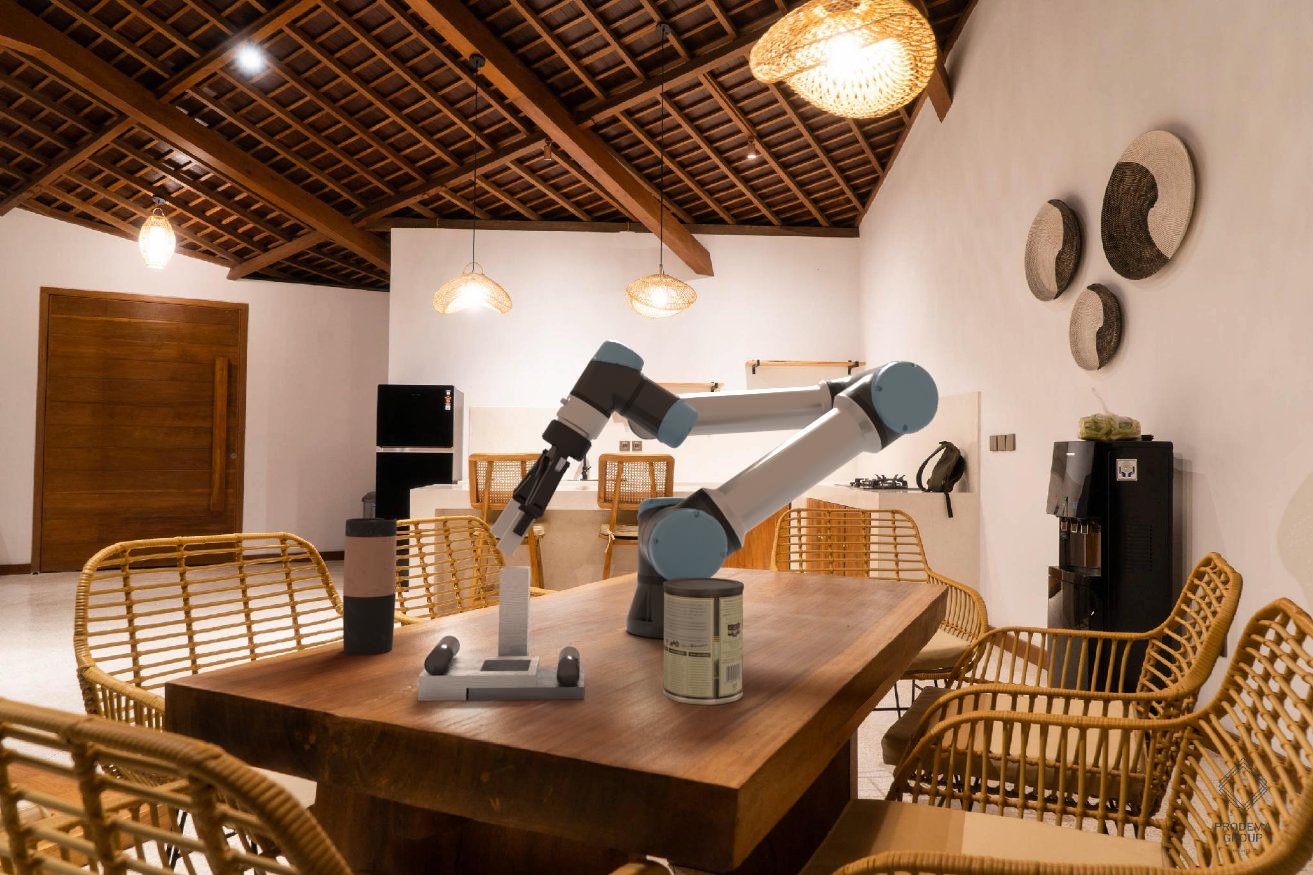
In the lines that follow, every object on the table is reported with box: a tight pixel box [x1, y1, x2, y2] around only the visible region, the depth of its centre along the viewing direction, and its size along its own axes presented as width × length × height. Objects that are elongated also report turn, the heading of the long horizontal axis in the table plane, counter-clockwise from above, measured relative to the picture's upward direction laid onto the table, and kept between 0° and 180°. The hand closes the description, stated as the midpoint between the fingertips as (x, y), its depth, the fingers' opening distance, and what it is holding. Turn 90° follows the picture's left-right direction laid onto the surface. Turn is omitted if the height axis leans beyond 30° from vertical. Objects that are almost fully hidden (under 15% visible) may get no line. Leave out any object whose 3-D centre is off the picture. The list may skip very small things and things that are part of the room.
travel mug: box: [342, 517, 398, 656], centre depth 127 cm, size 8×8×20 cm
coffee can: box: [662, 577, 745, 706], centre depth 105 cm, size 10×10×14 cm
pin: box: [497, 565, 531, 656], centre depth 118 cm, size 4×4×14 cm
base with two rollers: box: [417, 635, 585, 702], centre depth 106 cm, size 20×10×6 cm, turn 95°
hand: (499, 544), depth 128 cm, fingers open, 13 cm apart
